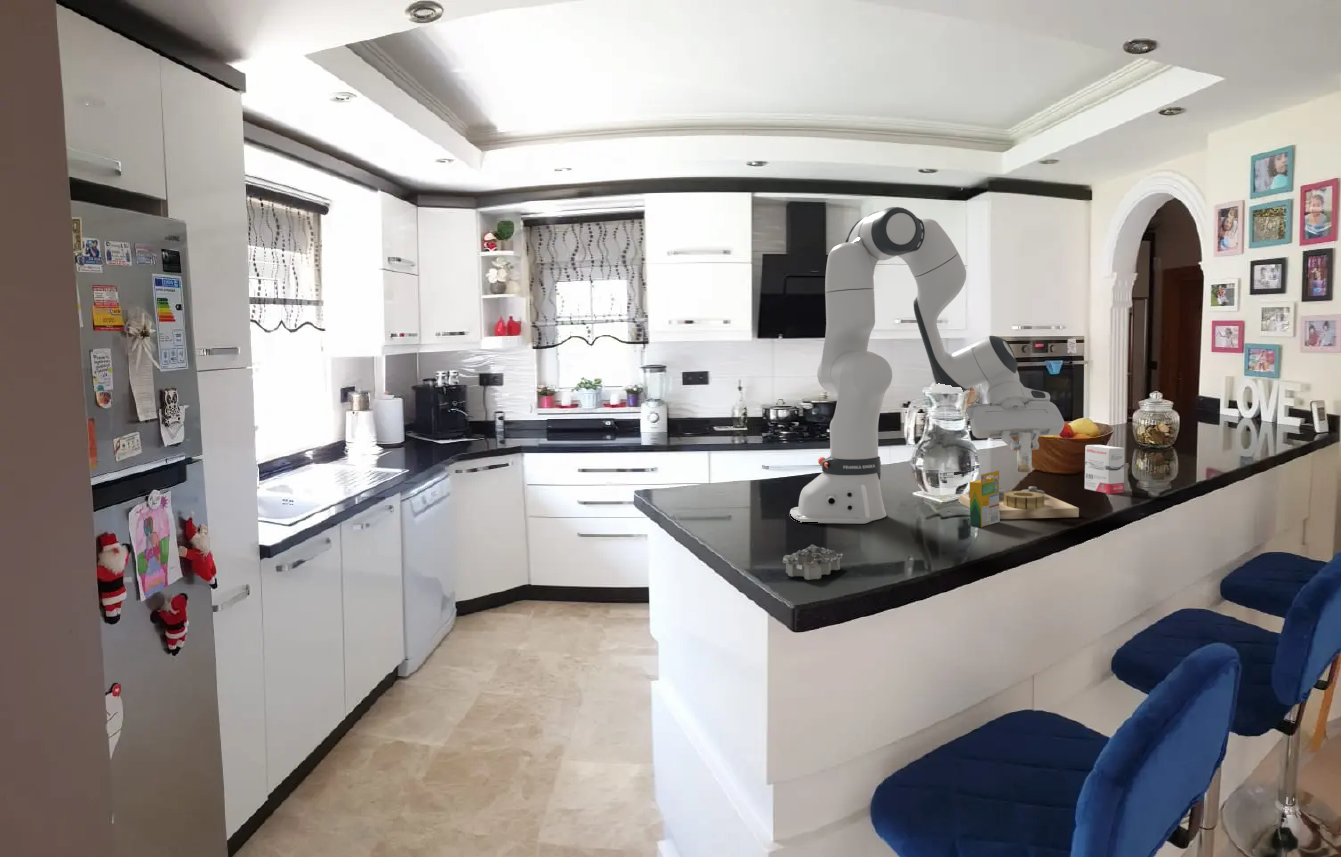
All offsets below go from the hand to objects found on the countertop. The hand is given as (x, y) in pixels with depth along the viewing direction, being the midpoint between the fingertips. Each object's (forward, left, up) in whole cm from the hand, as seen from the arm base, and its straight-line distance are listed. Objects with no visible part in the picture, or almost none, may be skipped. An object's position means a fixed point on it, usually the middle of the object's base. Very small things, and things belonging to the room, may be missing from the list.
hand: (1025, 448), depth 171 cm
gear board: (0, +6, -15) cm, 16 cm away
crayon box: (-12, -8, -15) cm, 21 cm away
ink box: (+30, +25, -15) cm, 42 cm away
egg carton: (-54, -41, -16) cm, 69 cm away
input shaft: (0, +1, -5) cm, 5 cm away
